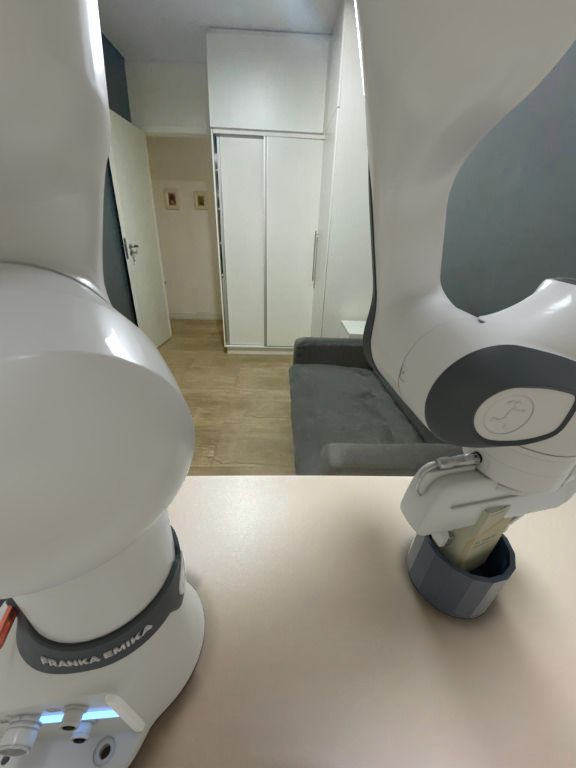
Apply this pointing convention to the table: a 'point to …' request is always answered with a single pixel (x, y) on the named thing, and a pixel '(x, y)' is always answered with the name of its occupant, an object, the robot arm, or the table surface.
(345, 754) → the table surface
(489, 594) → the blue round bowl
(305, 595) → the table surface
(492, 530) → the cosmetic box
